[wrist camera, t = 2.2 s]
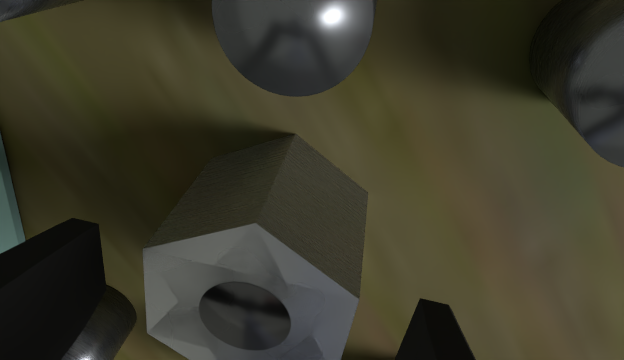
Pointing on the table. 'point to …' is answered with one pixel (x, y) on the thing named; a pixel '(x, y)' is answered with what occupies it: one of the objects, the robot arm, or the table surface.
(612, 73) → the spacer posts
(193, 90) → the table surface
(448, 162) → the table surface
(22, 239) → the mat
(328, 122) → the table surface
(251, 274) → the steel nut
